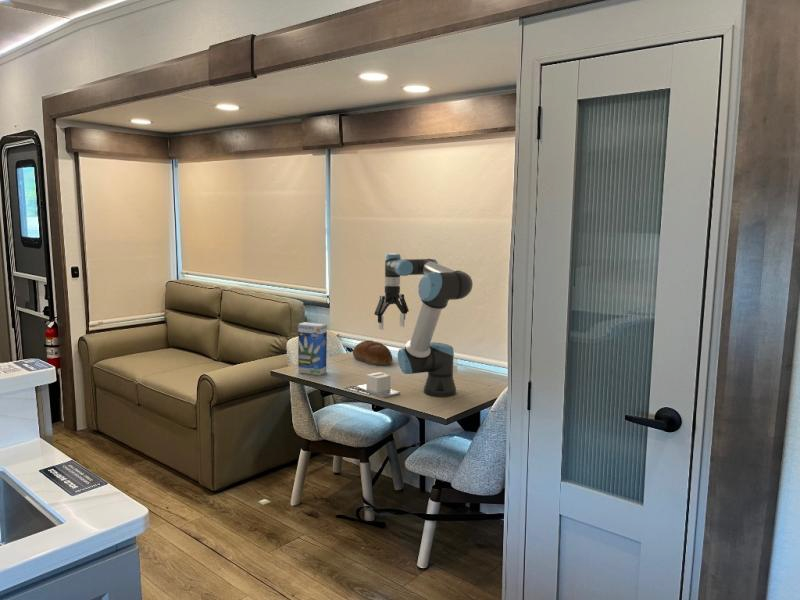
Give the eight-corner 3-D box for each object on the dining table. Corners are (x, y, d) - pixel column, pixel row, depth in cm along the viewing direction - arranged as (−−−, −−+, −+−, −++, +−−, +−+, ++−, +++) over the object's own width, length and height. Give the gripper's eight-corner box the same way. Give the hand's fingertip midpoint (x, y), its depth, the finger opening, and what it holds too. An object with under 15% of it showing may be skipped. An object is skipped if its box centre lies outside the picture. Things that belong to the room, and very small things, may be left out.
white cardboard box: (379, 385, 287) (379, 371, 286) (390, 389, 281) (390, 374, 280) (366, 388, 282) (366, 373, 281) (376, 392, 276) (377, 377, 275)
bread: (376, 368, 325) (376, 347, 323) (346, 357, 347) (346, 338, 346) (398, 364, 335) (399, 344, 333) (367, 354, 357) (367, 335, 356)
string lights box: (297, 372, 312) (297, 323, 308) (305, 369, 319) (304, 321, 315) (320, 375, 307) (320, 326, 304) (327, 372, 314) (327, 323, 311)
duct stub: (400, 394, 278) (400, 381, 277) (383, 398, 271) (383, 385, 270) (373, 384, 292) (373, 372, 292) (356, 388, 286) (356, 375, 285)
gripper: (406, 283, 305) (405, 324, 308) (367, 286, 289) (367, 329, 292) (416, 284, 300) (415, 326, 303) (377, 287, 283) (376, 331, 286)
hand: (391, 327), depth 297 cm, fingers open, 13 cm apart
